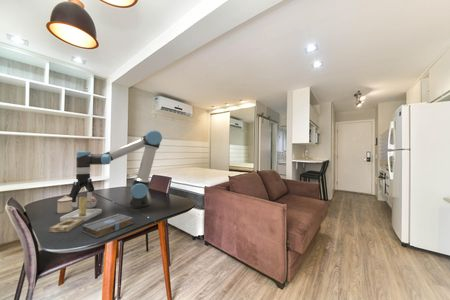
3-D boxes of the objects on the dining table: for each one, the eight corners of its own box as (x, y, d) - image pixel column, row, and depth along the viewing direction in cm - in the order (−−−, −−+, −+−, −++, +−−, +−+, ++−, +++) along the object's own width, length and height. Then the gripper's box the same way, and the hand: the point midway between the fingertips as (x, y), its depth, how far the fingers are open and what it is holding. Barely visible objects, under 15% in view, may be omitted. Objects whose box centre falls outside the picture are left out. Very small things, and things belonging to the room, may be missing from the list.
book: (117, 219, 118) (117, 212, 118) (133, 224, 110) (133, 216, 111) (81, 232, 99) (81, 223, 99) (97, 238, 92) (97, 229, 92)
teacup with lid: (75, 210, 132) (75, 195, 132) (59, 214, 124) (60, 198, 124) (68, 208, 137) (68, 193, 137) (52, 211, 129) (53, 196, 129)
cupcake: (99, 207, 141) (99, 194, 141) (85, 210, 133) (85, 197, 133) (94, 204, 146) (95, 193, 146) (81, 207, 139) (81, 195, 139)
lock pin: (87, 214, 122) (87, 196, 122) (83, 217, 118) (83, 197, 118) (81, 215, 122) (81, 196, 122) (76, 217, 118) (77, 198, 118)
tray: (101, 212, 128) (101, 208, 128) (86, 221, 112) (86, 216, 112) (78, 213, 127) (78, 209, 127) (59, 221, 111) (59, 217, 111)
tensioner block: (83, 223, 110) (83, 219, 110) (67, 231, 98) (67, 227, 98) (66, 223, 109) (66, 219, 109) (48, 232, 97) (48, 227, 97)
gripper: (90, 171, 132) (89, 198, 132) (62, 175, 107) (61, 209, 107) (100, 171, 133) (99, 198, 132) (74, 175, 108) (74, 209, 108)
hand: (82, 203), depth 120 cm, fingers open, 13 cm apart
